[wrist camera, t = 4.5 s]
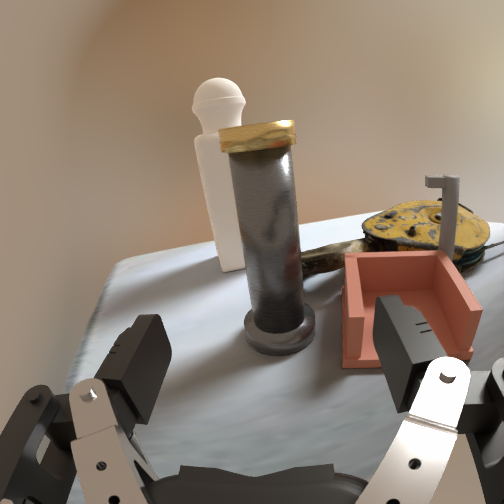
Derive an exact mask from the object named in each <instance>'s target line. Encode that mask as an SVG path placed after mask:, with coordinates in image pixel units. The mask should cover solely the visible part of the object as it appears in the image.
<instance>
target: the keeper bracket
mask: <svg viewBox="0 0 504 504" xmlns="http://www.w3.org/2000/svg"><path fill="white" fill-rule="evenodd" d="M459 179H460V178H459V176H456V175H443V176H432V175H426V176H425V186H427V187H428V188H442V209H441V224H440V236H439V246H438V250H435V251H399V252H362V253H345V286H342V333H343V348H342V368H376V367H382V366H381V363H380V361H379V358H378V355H377V353H376V350H375V347H374V343H373V322H374V312H375V302H376V298H377V297H378V296H386V295H393V294H397V295H398V296H399V298H400V299H401V301H402V302H403V304H404V306H412V307H414V308H415V309H417V310H418V311H420V312H421V313H422V315H423V316H424V318H425V319H426V321H427V324H429V326H430V327H431V329H432V331H433V332H434V334H435V335H436V337H437V339H438V340H439V342H440V344H441V345H442V347H443V349H444V350H445V352H446V354H447V355H448V357H450V358H455V359H457V360H459V361H462V360H469V359H471V357H472V355H473V352H474V351H473V348H472V346H471V345H472V342H473V340H474V337H475V334H476V330H477V327H478V324H479V321H480V318H481V314H482V311H483V309H482V308H481V306H480V304H479V303H478V301H477V299H476V298H475V296H474V295H473V293H472V291H471V290H470V288H469V287H468V285H467V284H466V282H465V281H464V279H463V278H462V276H461V275H460V273H459V272H458V270H457V269H456V267H455V266H454V264H453V263H452V260H453V253H454V245H455V236H456V227H457V216H458V202H459Z"/></svg>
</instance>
